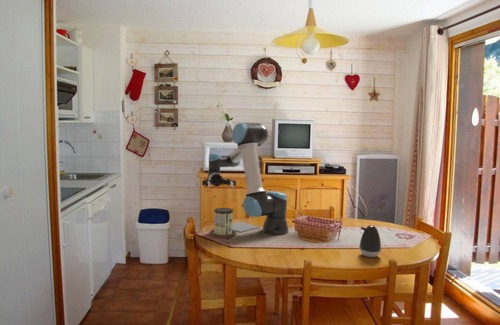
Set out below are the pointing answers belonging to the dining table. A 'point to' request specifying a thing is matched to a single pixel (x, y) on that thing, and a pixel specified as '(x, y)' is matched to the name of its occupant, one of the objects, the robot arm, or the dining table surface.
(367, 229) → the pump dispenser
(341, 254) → the dining table surface
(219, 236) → the walnut ring collar
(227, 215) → the coffee can
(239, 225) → the slate mat
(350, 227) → the dining table surface
